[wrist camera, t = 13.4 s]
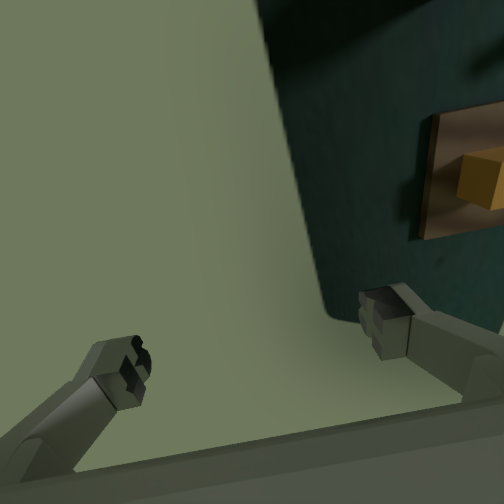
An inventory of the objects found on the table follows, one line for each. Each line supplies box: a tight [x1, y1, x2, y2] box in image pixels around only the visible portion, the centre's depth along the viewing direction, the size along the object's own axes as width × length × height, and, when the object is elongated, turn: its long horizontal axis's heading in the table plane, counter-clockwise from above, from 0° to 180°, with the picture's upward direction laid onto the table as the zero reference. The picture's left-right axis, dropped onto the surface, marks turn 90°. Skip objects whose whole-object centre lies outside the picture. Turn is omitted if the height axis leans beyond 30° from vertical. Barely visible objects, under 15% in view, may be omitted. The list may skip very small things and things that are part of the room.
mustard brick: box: [456, 146, 504, 210], centre depth 36 cm, size 6×6×6 cm
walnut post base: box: [418, 100, 504, 240], centre depth 38 cm, size 18×14×6 cm
